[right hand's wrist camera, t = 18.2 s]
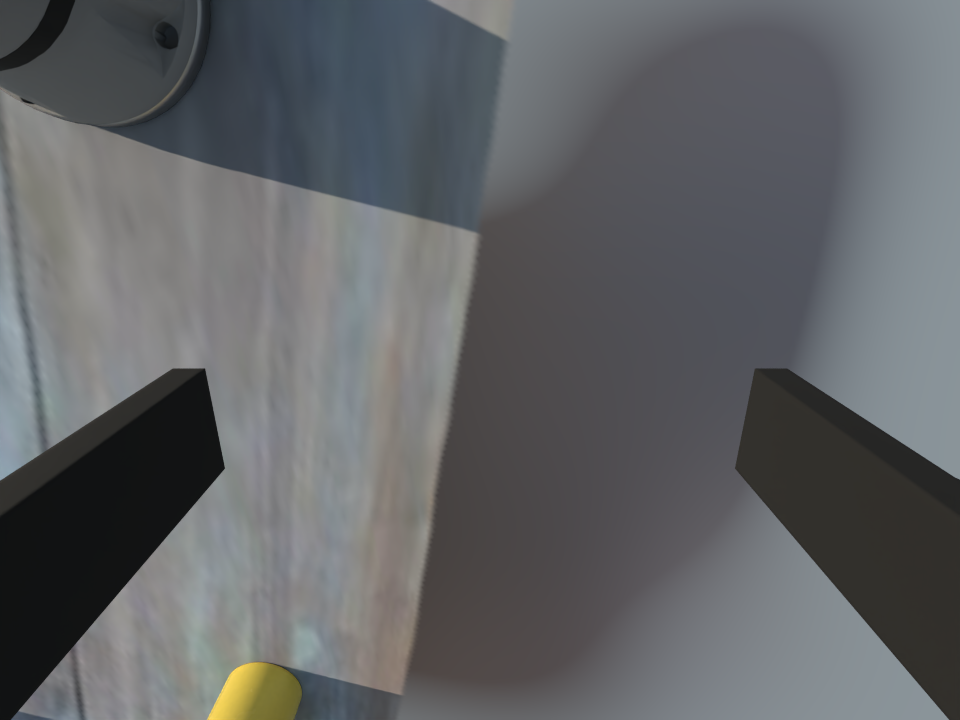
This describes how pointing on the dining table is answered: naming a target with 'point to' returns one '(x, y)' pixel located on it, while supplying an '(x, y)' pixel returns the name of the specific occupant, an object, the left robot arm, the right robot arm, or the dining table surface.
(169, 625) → the dining table surface
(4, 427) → the dining table surface
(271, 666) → the canister
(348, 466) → the dining table surface
